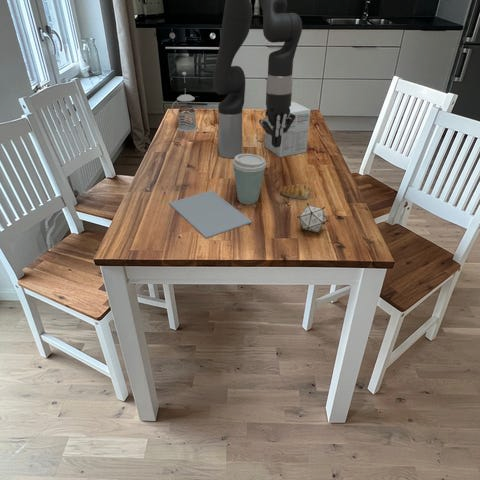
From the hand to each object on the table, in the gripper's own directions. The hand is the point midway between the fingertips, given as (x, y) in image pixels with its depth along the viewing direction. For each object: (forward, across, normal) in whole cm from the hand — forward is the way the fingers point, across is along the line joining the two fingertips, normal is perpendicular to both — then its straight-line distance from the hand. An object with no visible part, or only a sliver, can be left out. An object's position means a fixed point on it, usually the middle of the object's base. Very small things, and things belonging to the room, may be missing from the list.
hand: (276, 146), depth 132 cm
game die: (+17, +5, +25) cm, 30 cm away
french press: (+16, -5, -73) cm, 75 cm away
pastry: (+17, -6, +6) cm, 19 cm away
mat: (+16, +25, 0) cm, 30 cm away
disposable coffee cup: (+17, +10, 0) cm, 19 cm away
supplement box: (+16, -28, -28) cm, 43 cm away
